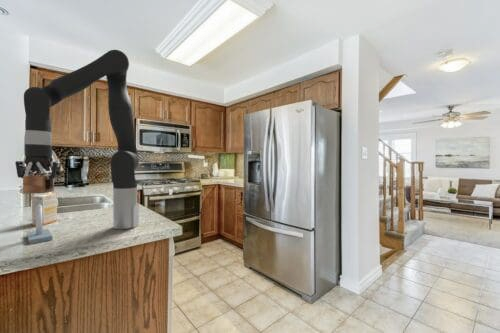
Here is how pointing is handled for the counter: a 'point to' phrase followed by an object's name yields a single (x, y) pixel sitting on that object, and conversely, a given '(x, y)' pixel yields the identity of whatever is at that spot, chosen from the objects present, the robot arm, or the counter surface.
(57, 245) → the counter surface
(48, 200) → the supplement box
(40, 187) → the brown wooden cube
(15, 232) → the counter surface
